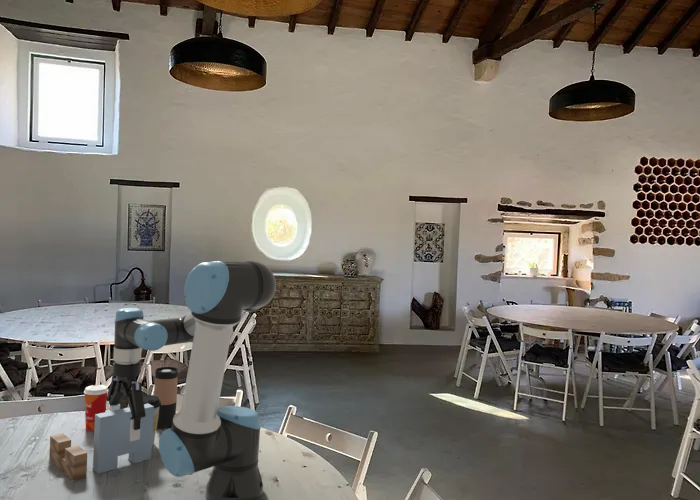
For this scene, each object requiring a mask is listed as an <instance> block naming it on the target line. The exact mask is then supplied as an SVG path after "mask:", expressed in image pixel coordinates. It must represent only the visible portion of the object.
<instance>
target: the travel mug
mask: <svg viewBox="0 0 700 500" xmlns="http://www.w3.org/2000/svg"><path fill="white" fill-rule="evenodd" d="M178 371H179V369H178V368H177V367H174V366H161V367H157V368H156V369H155V372H154V390H153V391H154V392H153V395H154V396H157V397H159V400H160V401H161V406H159V416H158V423H157V429H156V430H166V429H171V428H172V422H173V417H174V415H175V414H176V413H177V412H176V411H177V404H178V403H177V400H178V375H179V374H178Z"/></svg>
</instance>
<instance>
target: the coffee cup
mask: <svg viewBox="0 0 700 500" xmlns="http://www.w3.org/2000/svg"><path fill="white" fill-rule="evenodd" d="M142 395H143V402H144V404H150V405H152V406H154V413H153V435H152V447H153V446H154V444H155V438H156V433H157V430H158V429H157V423H158V416H159V406H161V401H160V400H159V397H157V396H154V394H142Z"/></svg>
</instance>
